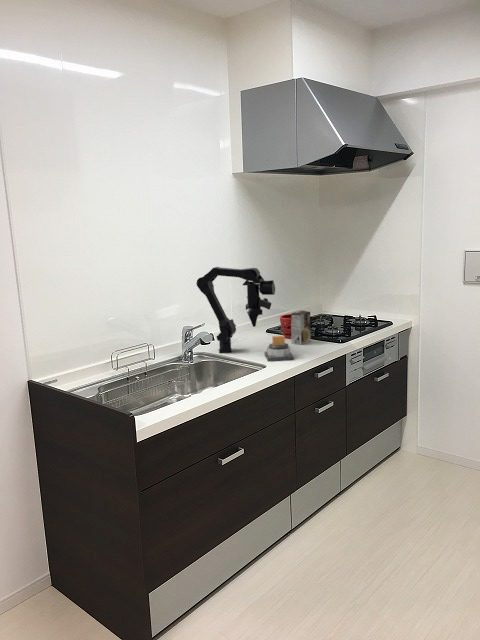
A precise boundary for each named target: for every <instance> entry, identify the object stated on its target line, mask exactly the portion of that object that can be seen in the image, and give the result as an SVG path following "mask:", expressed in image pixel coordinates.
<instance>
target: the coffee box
mask: <svg viewBox="0 0 480 640" xmlns="http://www.w3.org/2000/svg"><path fill="white" fill-rule="evenodd" d="M290 314H291V333H292V339H291V344H293V345H298V346H303V345H305V344H308V343H311V342H312V340H311V337H312V336H311V311H307V310H298V311H295V312H291V313H290Z"/></svg>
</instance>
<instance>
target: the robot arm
mask: <svg viewBox="0 0 480 640" xmlns="http://www.w3.org/2000/svg"><path fill="white" fill-rule="evenodd" d="M218 276H220V277H230V278H231V277H232V278H240V279H243V280H245V281H244V282H243V283H242V286H246V290H247V291H246V293H247V294H246V295H247V296H246V299H247V302H246V304H245V310H246V312H247V315H248V317H249V320H250V323H251V325H252V327H253V328H255V327H257V326H256V325H257V321H258V317H259V316H260V315H261V316H262V315H263V310H262V309H261V308H265V309H266V310H271V308H272V302H271V301H269V300H268V298H266V297H264V298H263V299H261V297H260V294H261V295H262V296H264V295H265V296H269V295H271V296H272V295H273V296H274V295H275V294H276V285H275V281H274V280H273V279H272V280H265V279H264V278H263V276H262V275H261V272H260V270H259V268H257V267H249V268H230V267H219V266H216V267H212V268H211V269H210V270H209V271H208V272H207V273H206V274H204V275H203V276H201V277H199V278H198V279H197V280H196V287H197V288H198V289H199V291H200V292H201V293H202V294H203V295H204V296H205V297H206V299H207V301H208V303H209V306H210V307H211V309H212V310H213V313H214V314H215V316H216V319H217V322H218V327H219V331H220V333H219V334H217V335H216V340H217V341H218V342H219V343H218V345H219V349H218V353H219V354H222V353H233V349H232V338H233V335H234V334H236V331H237V325H236V324H235V322H234V320H233V319H232V318H231V319H230V318H228V316H227V314H226V313H225V310H224V309H223V307H222V305H221V302H220V301H219V298H218V296H217V295H216V292H215V288H214V281H215V280H216V279H217V278H218ZM247 310H248V311H247Z"/></svg>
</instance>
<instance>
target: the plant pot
mask: <svg viewBox="0 0 480 640" xmlns="http://www.w3.org/2000/svg"><path fill="white" fill-rule="evenodd" d="M279 322H280V328H281V332H282V334H281V336H285V339H289V340H292V333H291V313H286V314H283V315H281V316H279Z"/></svg>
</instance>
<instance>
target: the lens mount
mask: <svg viewBox="0 0 480 640" xmlns="http://www.w3.org/2000/svg"><path fill="white" fill-rule="evenodd" d="M263 353H264V357H265V359H266V360H267V362H279V361H294V359H295V357H294V355H293V353H292V352H291V346H290V345H289V344H288V348H285V349H271V348H269V345H267V346H266V351H264V352H263Z"/></svg>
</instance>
